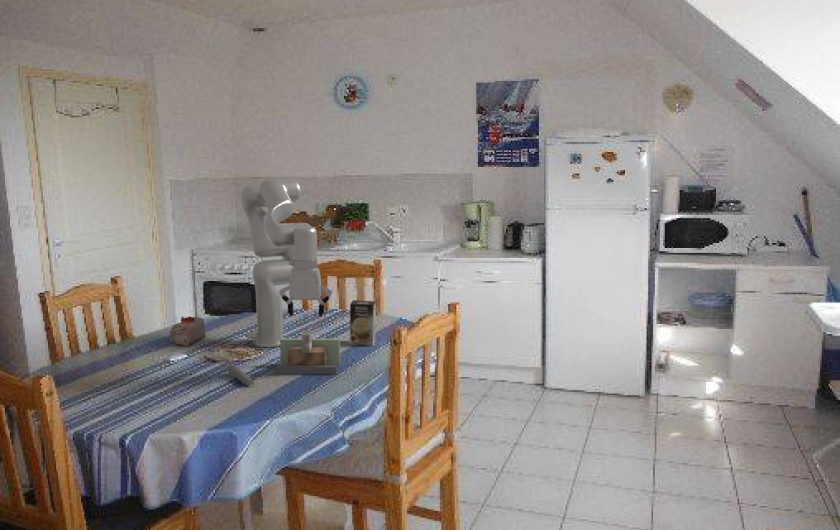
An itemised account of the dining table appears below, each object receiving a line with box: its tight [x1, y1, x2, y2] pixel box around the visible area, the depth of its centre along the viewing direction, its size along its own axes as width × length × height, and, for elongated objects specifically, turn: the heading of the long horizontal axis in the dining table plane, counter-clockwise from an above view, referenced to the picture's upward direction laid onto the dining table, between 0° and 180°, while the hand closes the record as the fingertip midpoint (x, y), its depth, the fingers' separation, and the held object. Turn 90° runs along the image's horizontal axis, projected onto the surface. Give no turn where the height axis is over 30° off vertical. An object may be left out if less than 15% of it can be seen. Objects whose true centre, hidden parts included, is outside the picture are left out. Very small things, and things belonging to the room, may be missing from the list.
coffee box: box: [349, 299, 377, 347], centre depth 251 cm, size 9×6×16 cm
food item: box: [169, 316, 206, 347], centre depth 252 cm, size 14×8×10 cm, turn 167°
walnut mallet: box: [288, 330, 328, 366], centre depth 221 cm, size 12×6×13 cm, turn 91°
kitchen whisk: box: [205, 346, 255, 388], centre depth 217 cm, size 6×34×6 cm, turn 39°
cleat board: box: [274, 337, 341, 375], centre depth 222 cm, size 20×11×9 cm, turn 91°
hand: (306, 315), depth 219 cm, fingers open, 9 cm apart
